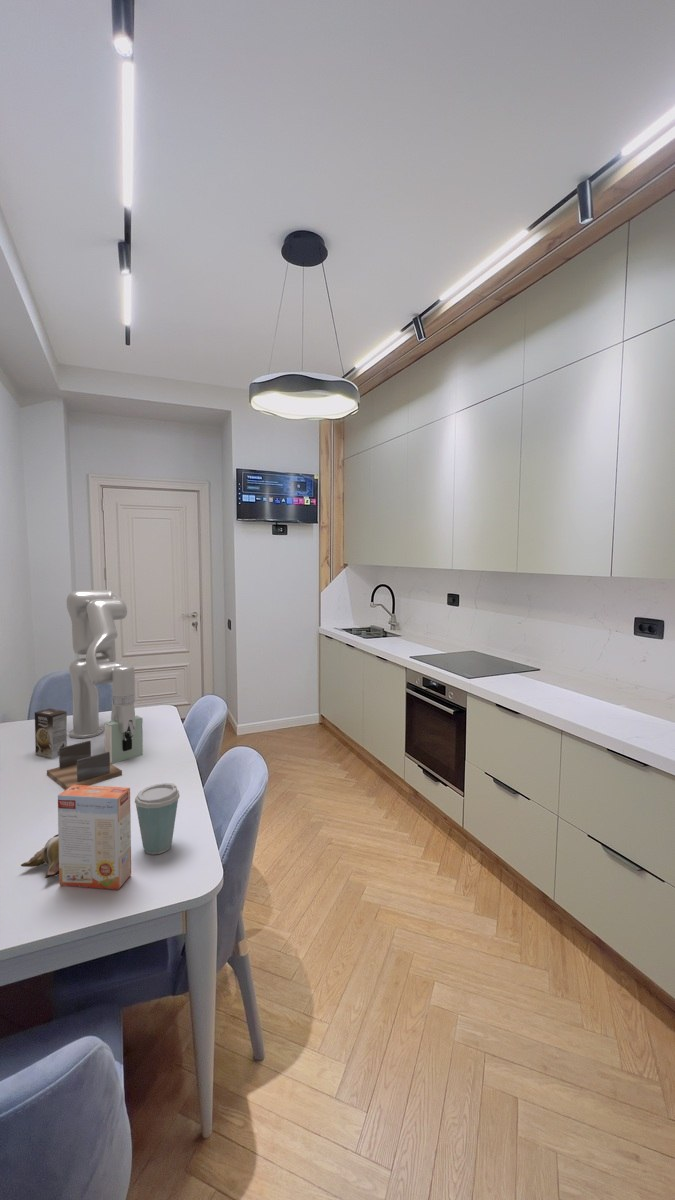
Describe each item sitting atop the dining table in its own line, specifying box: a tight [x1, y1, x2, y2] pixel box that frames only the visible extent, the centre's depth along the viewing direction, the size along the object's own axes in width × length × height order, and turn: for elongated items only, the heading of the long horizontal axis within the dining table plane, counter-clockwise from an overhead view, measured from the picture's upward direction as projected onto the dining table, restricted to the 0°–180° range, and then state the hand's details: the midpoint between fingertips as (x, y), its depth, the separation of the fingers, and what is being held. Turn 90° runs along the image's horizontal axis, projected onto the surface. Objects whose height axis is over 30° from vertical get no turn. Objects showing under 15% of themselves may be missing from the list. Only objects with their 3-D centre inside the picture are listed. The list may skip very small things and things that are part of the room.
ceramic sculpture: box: [20, 834, 59, 879], centre depth 118 cm, size 11×9×15 cm
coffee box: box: [34, 708, 68, 760], centre depth 183 cm, size 9×6×16 cm
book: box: [104, 715, 144, 765], centre depth 181 cm, size 4×12×14 cm, turn 139°
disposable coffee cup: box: [134, 782, 181, 855], centre depth 125 cm, size 11×11×15 cm
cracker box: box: [57, 785, 132, 891], centre depth 111 cm, size 14×6×21 cm, turn 84°
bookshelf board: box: [46, 740, 123, 791], centre depth 166 cm, size 18×17×8 cm
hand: (124, 747), depth 182 cm, fingers closed on book, 4 cm apart
